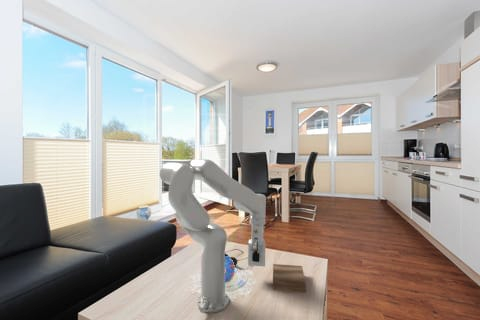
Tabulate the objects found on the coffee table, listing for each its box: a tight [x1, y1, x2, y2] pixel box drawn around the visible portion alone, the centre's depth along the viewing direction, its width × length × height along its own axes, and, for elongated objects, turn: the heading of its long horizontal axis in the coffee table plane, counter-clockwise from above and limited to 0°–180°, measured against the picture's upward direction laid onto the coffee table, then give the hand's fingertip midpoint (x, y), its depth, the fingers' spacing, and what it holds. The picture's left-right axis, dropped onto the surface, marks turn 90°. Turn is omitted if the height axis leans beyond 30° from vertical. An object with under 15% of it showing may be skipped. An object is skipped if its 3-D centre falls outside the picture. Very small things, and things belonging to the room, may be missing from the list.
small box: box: [247, 239, 266, 267], centre depth 107 cm, size 8×6×10 cm
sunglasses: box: [225, 248, 248, 268], centre depth 128 cm, size 14×16×5 cm
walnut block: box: [272, 263, 307, 293], centre depth 105 cm, size 14×14×5 cm
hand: (256, 257), depth 107 cm, fingers closed on small box, 5 cm apart
